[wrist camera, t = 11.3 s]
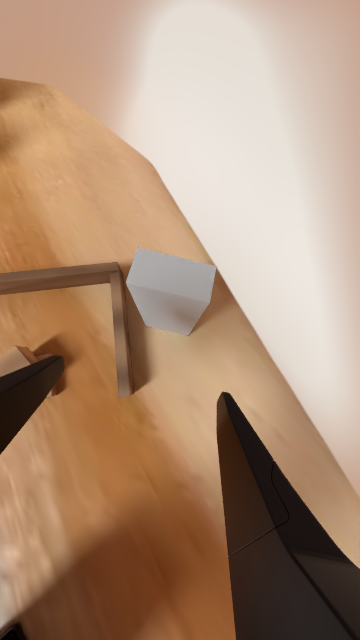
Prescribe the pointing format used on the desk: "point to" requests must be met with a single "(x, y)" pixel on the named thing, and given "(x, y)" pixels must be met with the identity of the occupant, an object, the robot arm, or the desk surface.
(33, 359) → the offcut upper
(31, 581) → the desk surface
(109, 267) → the wooden frame
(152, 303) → the tall board
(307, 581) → the robot arm
